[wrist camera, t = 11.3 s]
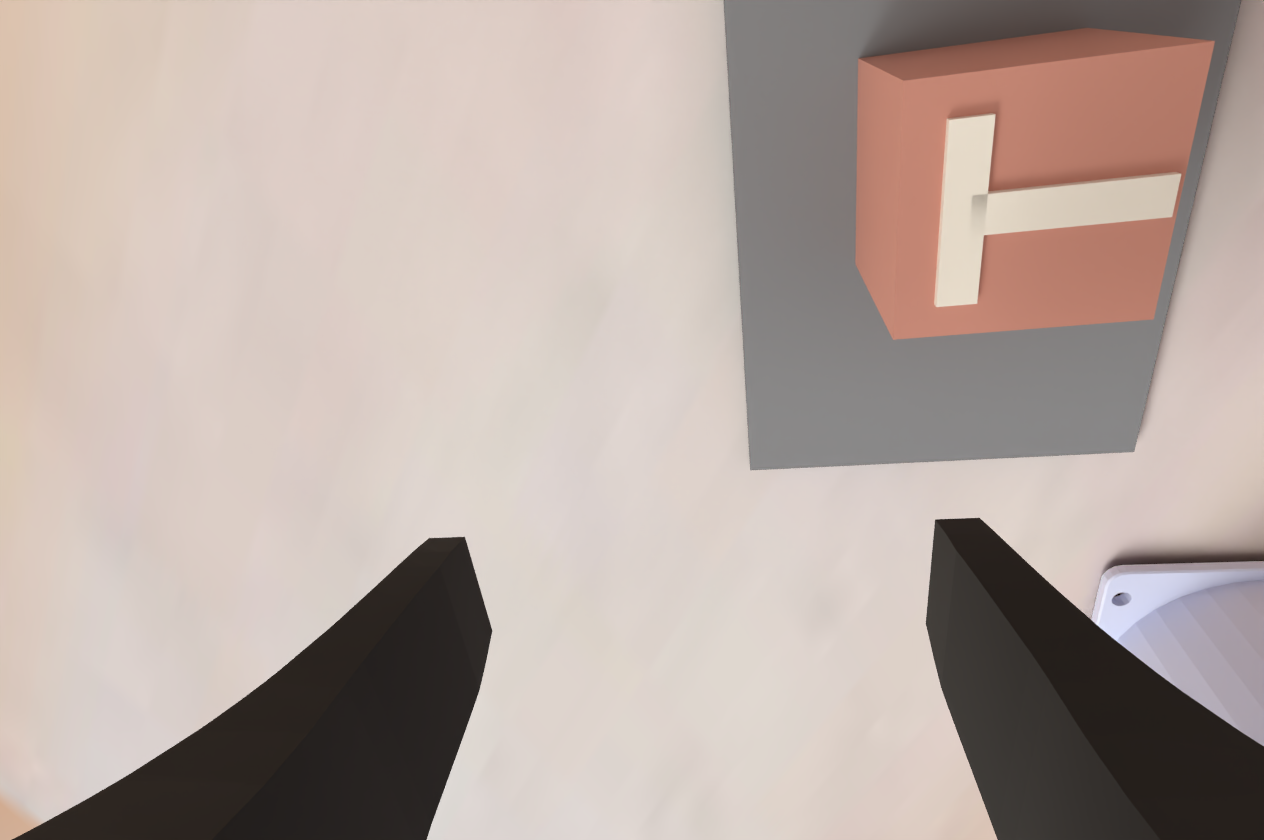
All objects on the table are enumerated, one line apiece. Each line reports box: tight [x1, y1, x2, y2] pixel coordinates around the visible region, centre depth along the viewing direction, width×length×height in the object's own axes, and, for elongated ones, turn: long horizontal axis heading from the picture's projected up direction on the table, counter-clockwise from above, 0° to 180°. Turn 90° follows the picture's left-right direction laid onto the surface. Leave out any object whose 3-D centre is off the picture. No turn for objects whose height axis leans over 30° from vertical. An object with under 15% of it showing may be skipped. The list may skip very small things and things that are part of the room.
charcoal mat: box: [724, 0, 1241, 470], centre depth 17 cm, size 16×10×1 cm, turn 7°
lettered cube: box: [855, 28, 1215, 340], centre depth 15 cm, size 4×4×5 cm
